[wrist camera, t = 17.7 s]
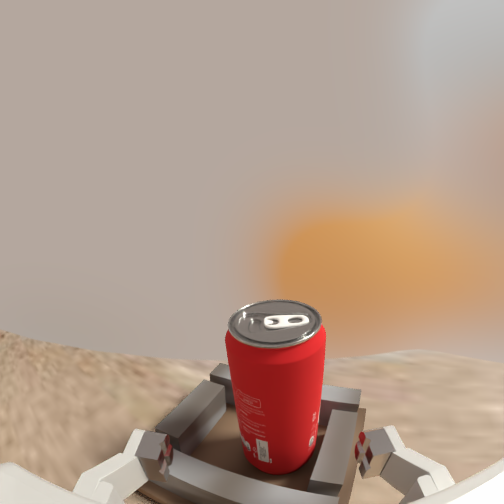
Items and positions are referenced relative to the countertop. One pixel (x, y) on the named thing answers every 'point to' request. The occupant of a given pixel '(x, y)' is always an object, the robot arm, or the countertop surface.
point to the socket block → (236, 464)
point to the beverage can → (277, 381)
